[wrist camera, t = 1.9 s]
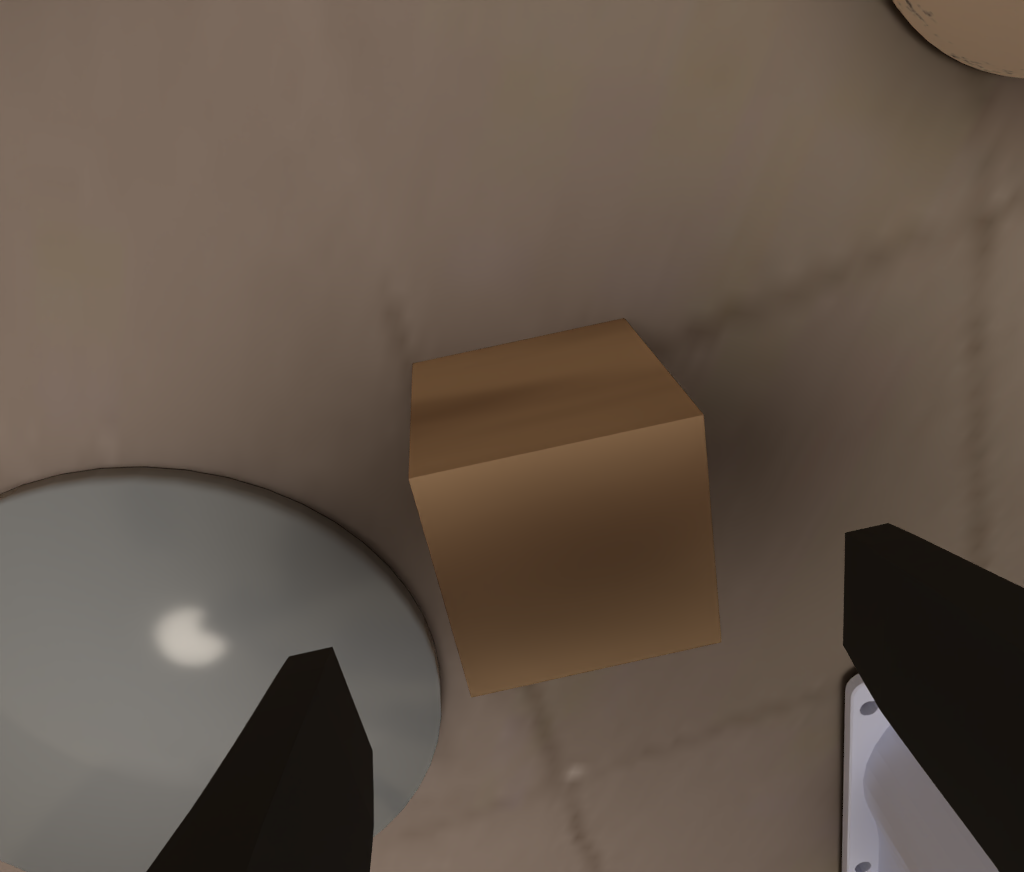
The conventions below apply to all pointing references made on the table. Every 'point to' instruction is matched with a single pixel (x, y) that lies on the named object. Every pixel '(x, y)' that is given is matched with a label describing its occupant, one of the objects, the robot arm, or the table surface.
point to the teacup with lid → (973, 31)
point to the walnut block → (563, 505)
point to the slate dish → (179, 653)
